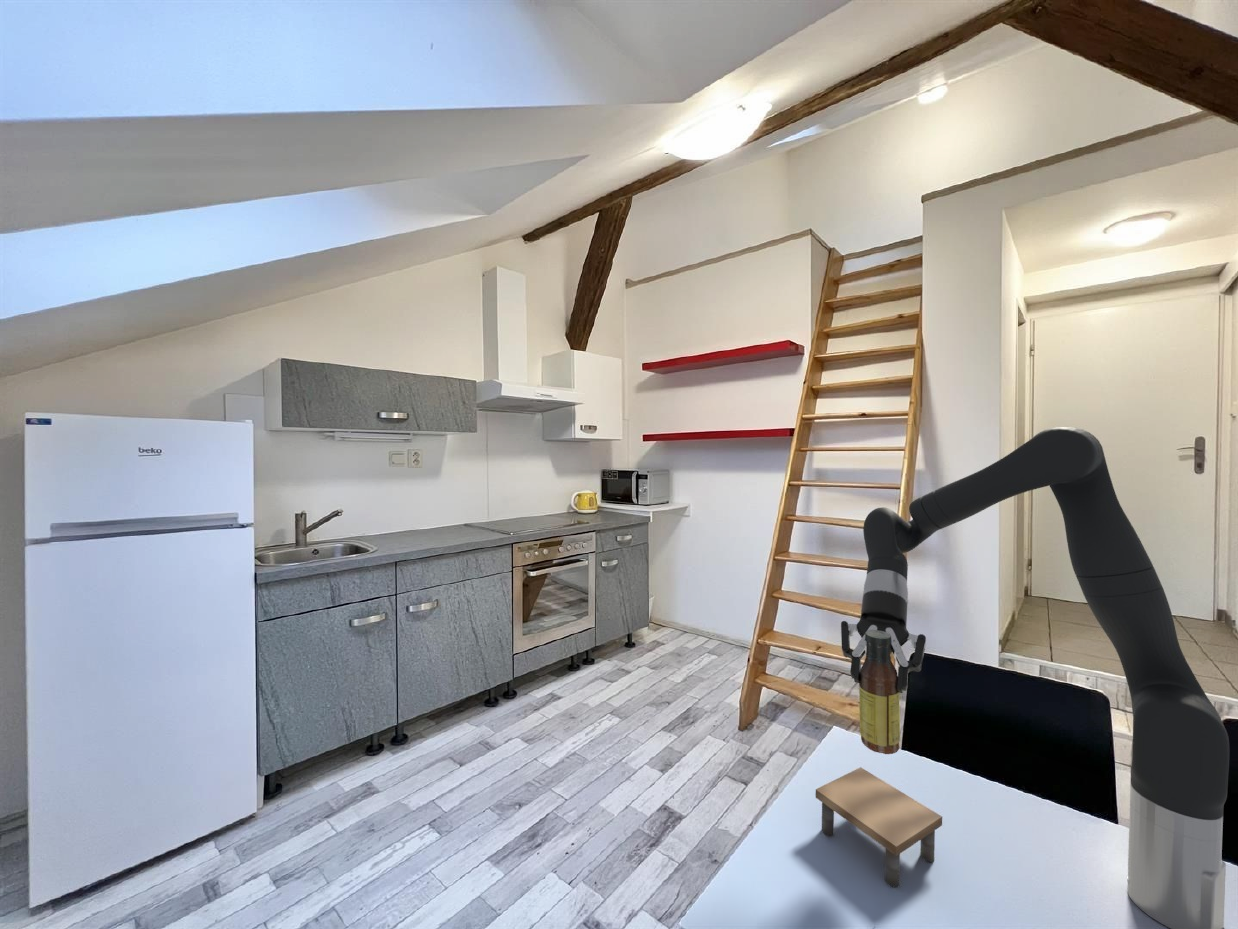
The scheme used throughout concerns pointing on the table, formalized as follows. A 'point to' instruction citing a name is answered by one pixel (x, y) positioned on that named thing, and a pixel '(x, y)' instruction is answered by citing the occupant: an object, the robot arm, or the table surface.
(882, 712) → the sauce bottle
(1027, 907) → the table surface
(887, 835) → the peg shelf
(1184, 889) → the robot arm
